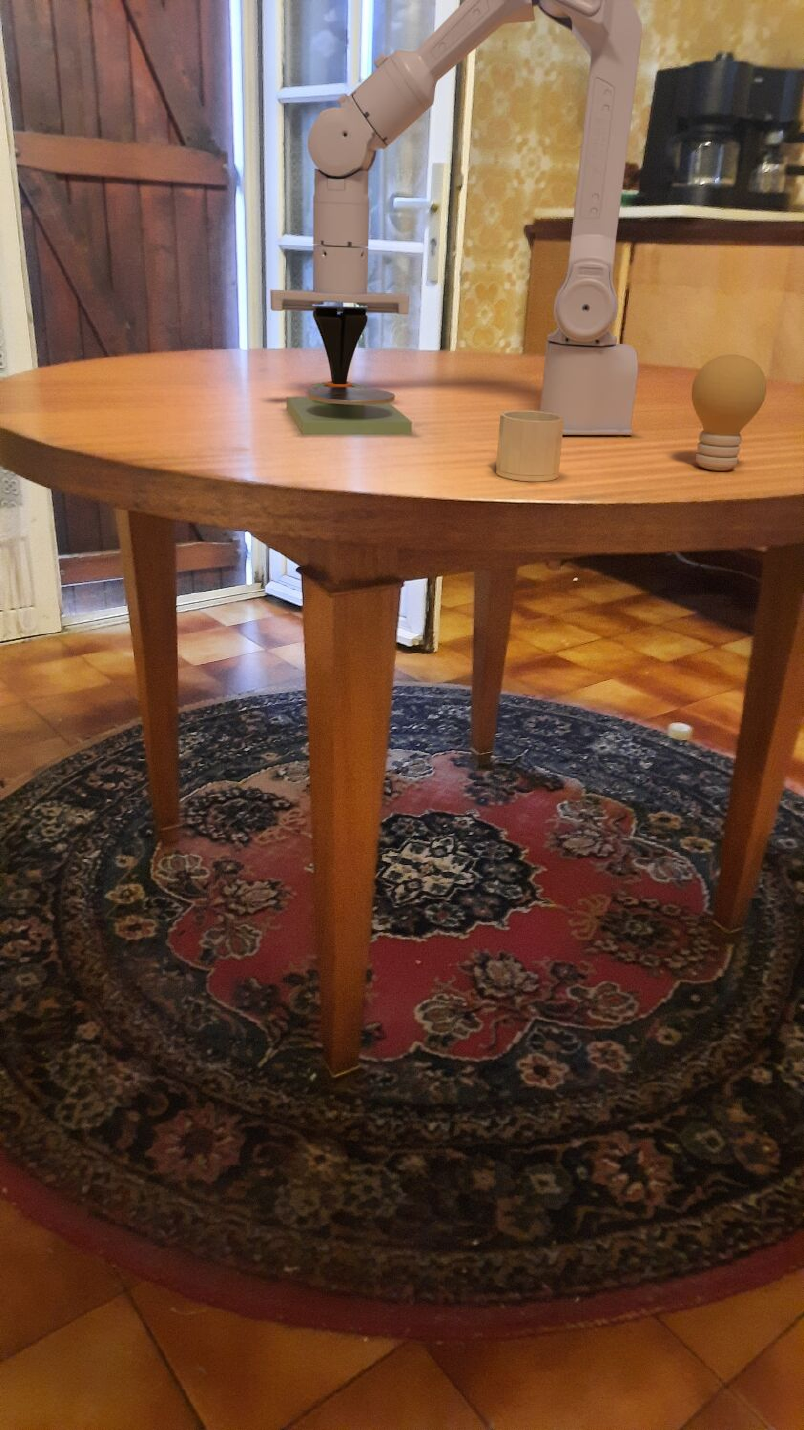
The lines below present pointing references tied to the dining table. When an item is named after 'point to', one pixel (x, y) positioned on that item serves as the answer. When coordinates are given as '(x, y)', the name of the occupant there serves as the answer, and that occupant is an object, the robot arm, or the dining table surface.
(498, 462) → the ramekin
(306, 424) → the scale
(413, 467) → the dining table surface
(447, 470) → the dining table surface
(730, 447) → the light bulb
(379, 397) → the weighing pan
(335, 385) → the orange cylinder
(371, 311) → the robot arm
